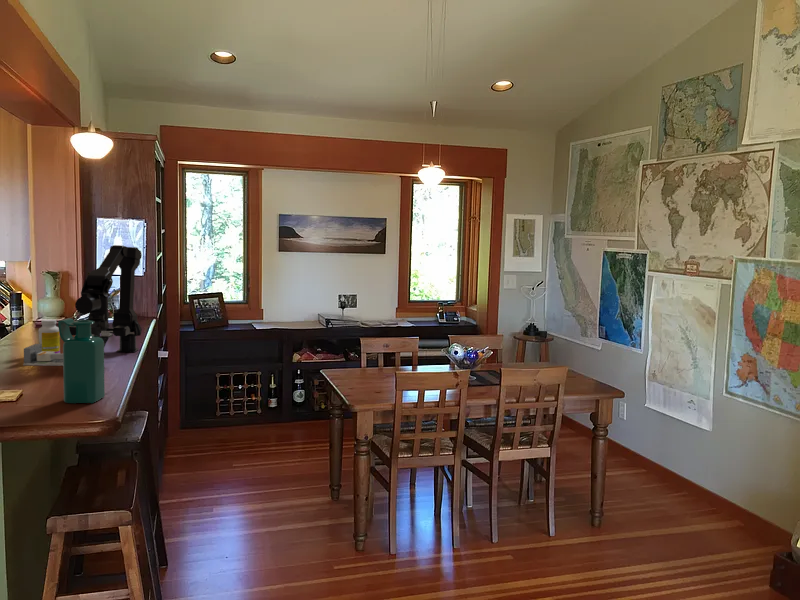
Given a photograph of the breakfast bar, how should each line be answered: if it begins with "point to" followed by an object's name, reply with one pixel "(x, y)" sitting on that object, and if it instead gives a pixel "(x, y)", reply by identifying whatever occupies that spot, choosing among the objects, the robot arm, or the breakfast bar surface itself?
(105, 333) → the robot arm
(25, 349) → the track
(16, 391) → the breakfast bar surface
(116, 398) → the breakfast bar surface
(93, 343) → the pitcher
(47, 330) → the supplement bottle
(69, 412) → the breakfast bar surface
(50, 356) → the thick grey end plate
